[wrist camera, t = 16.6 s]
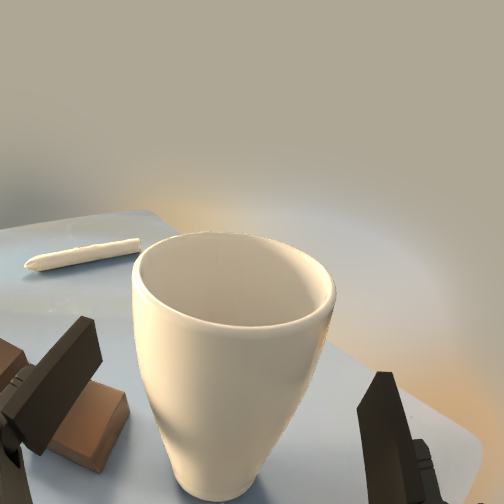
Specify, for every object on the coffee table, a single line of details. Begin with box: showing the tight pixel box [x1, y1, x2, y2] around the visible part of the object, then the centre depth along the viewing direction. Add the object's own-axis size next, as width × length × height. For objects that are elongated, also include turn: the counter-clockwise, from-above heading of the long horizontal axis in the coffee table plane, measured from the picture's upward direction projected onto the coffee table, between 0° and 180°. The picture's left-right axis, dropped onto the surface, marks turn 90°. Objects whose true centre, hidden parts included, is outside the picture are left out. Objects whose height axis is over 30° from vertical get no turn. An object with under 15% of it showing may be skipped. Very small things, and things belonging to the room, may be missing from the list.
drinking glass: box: [132, 231, 336, 502], centre depth 13 cm, size 7×7×15 cm
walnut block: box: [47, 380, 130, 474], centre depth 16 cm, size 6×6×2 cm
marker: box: [24, 238, 141, 271], centre depth 38 cm, size 18×2×2 cm, turn 130°
